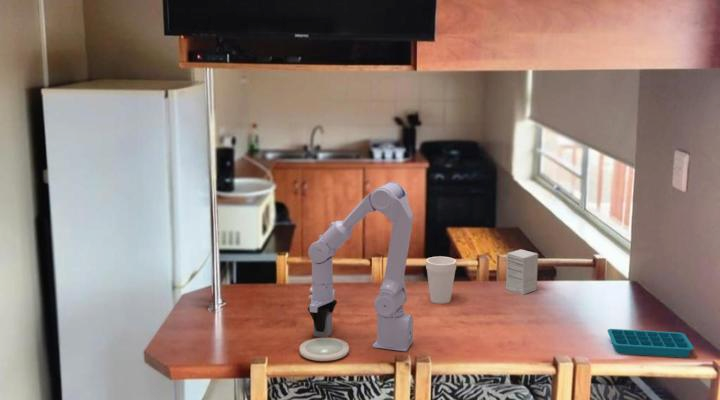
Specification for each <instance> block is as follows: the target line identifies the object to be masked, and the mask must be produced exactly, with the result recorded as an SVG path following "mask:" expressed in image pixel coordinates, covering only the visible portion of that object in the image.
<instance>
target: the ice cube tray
mask: <svg viewBox="0 0 720 400" xmlns="http://www.w3.org/2000/svg"><path fill="white" fill-rule="evenodd" d="M607 333H608V336H609V338H610V342H611V344H612V346H613V348H614V351H615V353H617V354H621V355H637V356H638V355H639V356H650V357H651V356H653V357H654V356H655V357H668V358H669V357H670V358H671V357H672V358H673V357H674V358H689V357H690V352H691V351H693V350H694V349H695V347H694V346H693V345H692V343H691V341H690V340H689V338H688V337H687V335H686V334H685V333H683V332H676V331H658V330H656V331H655V330H643V329H642V330H638V329H623V328H622V329H619V328H608V329H607Z"/></svg>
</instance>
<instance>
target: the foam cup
mask: <svg viewBox="0 0 720 400" xmlns="http://www.w3.org/2000/svg"><path fill="white" fill-rule="evenodd" d="M425 268H426V274H427V282H428V289H429V298H430V301H431V302H432V303H435V304H441V305H442V304H449V303H450V302H451V299H452V293H453V288H454V287H453V286H454V283H455V281H454V280H455V274H456V270H457V260H456V259H455V258H452V257H449V256H441V255H439V256H432V257H428V258H427V259H425Z"/></svg>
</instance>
